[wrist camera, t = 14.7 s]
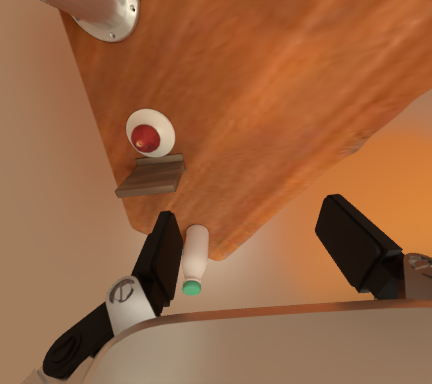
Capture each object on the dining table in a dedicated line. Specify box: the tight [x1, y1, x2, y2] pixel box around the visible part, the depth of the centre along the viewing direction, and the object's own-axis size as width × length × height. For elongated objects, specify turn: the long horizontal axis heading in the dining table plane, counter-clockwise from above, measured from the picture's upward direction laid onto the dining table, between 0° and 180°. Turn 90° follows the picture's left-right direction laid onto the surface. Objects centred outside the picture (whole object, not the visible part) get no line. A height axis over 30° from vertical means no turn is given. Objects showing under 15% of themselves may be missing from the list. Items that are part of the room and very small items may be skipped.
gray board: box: [115, 153, 186, 198], centre depth 39 cm, size 5×12×13 cm, turn 96°
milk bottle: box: [182, 224, 209, 295], centre depth 50 cm, size 8×8×20 cm
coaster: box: [126, 109, 175, 157], centre depth 40 cm, size 11×11×1 cm
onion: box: [131, 124, 161, 153], centre depth 36 cm, size 6×6×8 cm
